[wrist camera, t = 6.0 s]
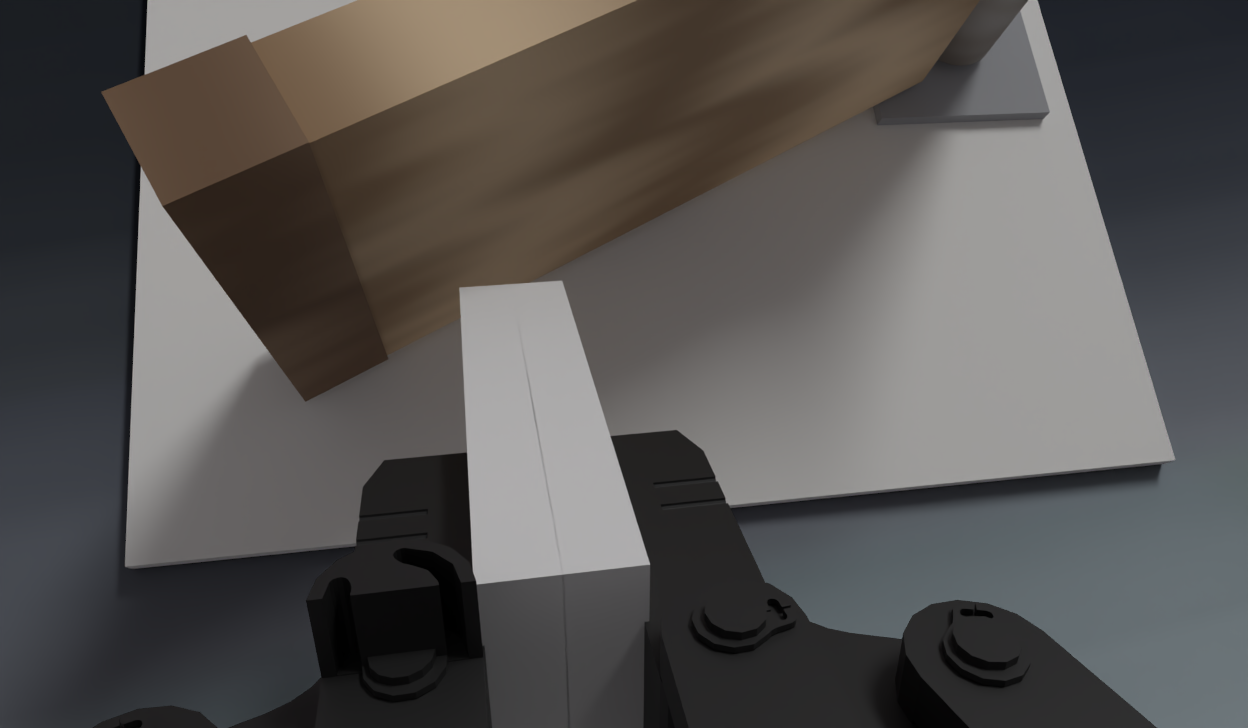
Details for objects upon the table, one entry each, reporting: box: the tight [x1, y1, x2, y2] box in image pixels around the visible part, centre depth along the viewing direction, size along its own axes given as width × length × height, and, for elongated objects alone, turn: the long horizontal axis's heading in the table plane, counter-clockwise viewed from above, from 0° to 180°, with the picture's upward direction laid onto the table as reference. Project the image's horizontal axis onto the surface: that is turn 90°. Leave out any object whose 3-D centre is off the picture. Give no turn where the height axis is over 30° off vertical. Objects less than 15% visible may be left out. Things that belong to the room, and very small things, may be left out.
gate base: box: [125, 0, 1175, 569], centre depth 23 cm, size 22×22×1 cm
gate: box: [102, 0, 1028, 402], centre depth 17 cm, size 19×2×9 cm, turn 122°
